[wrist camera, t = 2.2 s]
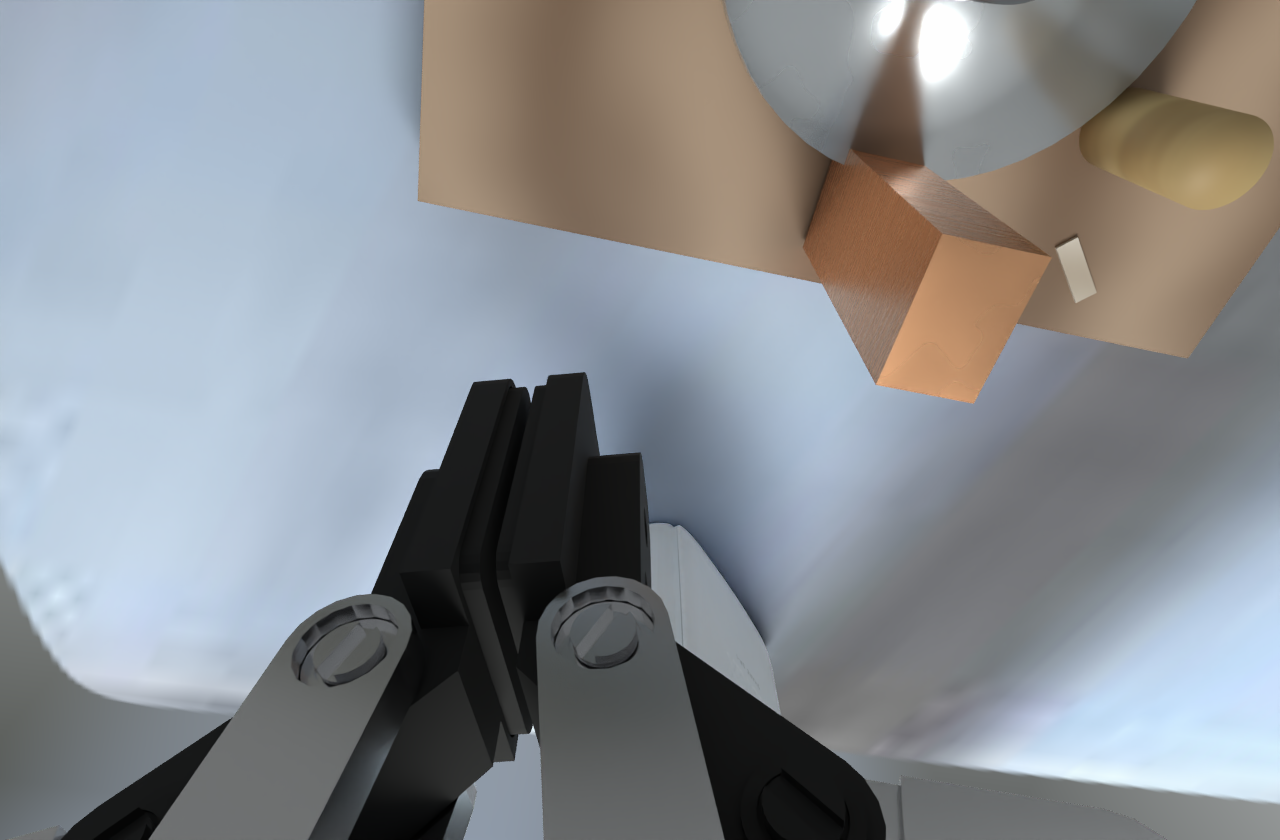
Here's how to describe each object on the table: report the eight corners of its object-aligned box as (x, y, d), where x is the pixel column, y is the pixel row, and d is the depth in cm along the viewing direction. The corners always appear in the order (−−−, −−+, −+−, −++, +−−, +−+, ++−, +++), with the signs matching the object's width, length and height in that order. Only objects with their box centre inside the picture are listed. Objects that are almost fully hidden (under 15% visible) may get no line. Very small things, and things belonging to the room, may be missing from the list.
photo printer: (782, 654, 33) (840, 969, 23) (699, 681, 34) (718, 993, 24) (683, 503, 28) (700, 813, 18) (591, 540, 29) (556, 852, 19)
